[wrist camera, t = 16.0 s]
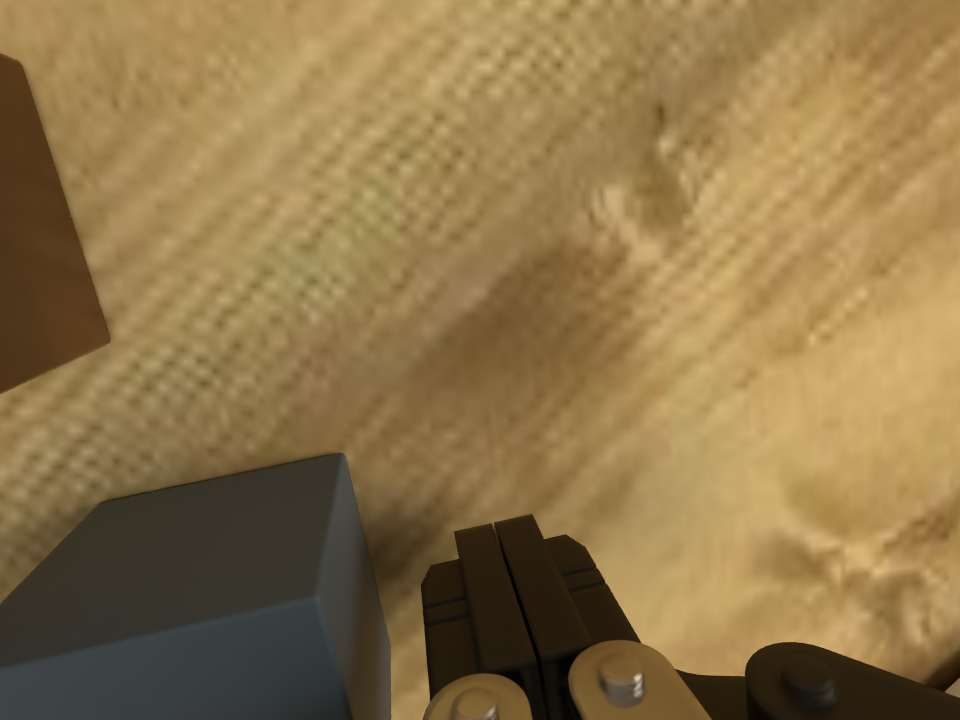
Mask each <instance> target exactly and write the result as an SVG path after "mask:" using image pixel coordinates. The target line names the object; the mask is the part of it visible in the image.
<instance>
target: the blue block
mask: <svg viewBox="0 0 960 720" xmlns="http://www.w3.org/2000/svg"><path fill="white" fill-rule="evenodd" d="M0 720H391V649H390V641H389V637H388V632H387V628H386V624H385V620H384V616H383V612H382V607H381V603H380V599H379V595H378V591H377V586H376V582H375V578H374V574H373V570H372V565H371V561H370V557H369V553H368V549H367V544H366V540H365V536H364V532H363V528H362V523H361V519H360V515H359V511H358V507H357V502H356V498H355V494H354V490H353V486H352V481H351V477H350V473H349V469H348V465H347V460H346V456H345V455H344V454H343V453H338V454H333V455H328V456H323V457H319V458H314V459H309V460H304V461H299V462H294V463H290V464H285V465H280V466H275V467H270V468H265V469H261V470H256V471H251V472H246V473H241V474H237V475H232V476H227V477H222V478H217V479H212V480H208V481H203V482H198V483H193V484H188V485H183V486H179V487H174V488H169V489H164V490H159V491H155V492H150V493H145V494H140V495H135V496H130V497H126V498H121V499H116V500H111V501H106V502H101V503H100V504H98V505H97V506H96V507H95V508H94V509H93V510H92V511H91V512H90V513H89V514H88V515H87V517H86V518H85V519H84V520H83V521H82V522H81V523H80V524H79V525H78V526H77V527H76V528H75V529H74V530H73V531H72V532H71V533H70V534H69V535H68V536H67V537H66V538H65V539H64V540H63V541H62V542H61V543H60V544H59V545H58V546H57V547H56V548H55V549H54V550H53V551H52V552H51V553H50V554H49V555H48V556H47V557H46V558H45V559H44V560H43V561H42V562H41V563H40V564H39V565H38V566H37V567H36V568H35V569H34V570H33V571H32V572H31V573H30V574H29V575H28V576H27V577H26V578H25V579H24V580H23V581H22V582H21V583H20V584H19V585H18V586H17V587H16V588H15V589H14V590H13V592H12V593H11V594H10V595H9V596H8V597H7V598H6V599H5V600H4V601H3V602H2V603H1V604H0Z"/></svg>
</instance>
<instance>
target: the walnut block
mask: <svg viewBox="0 0 960 720" xmlns="http://www.w3.org/2000/svg"><path fill="white" fill-rule="evenodd" d="M110 339H111V338H110V335H109V332H108V329H107V325H106V322H105V319H104V316H103V313H102V310H101V307H100V304H99V301H98V298H97V295H96V291H95V288H94V285H93V282H92V279H91V276H90V273H89V270H88V267H87V264H86V261H85V257H84V254H83V251H82V248H81V245H80V242H79V239H78V236H77V233H76V230H75V226H74V223H73V220H72V217H71V214H70V211H69V208H68V205H67V202H66V199H65V196H64V192H63V189H62V186H61V183H60V180H59V177H58V174H57V171H56V168H55V165H54V162H53V158H52V155H51V152H50V149H49V146H48V143H47V140H46V137H45V134H44V131H43V128H42V124H41V121H40V118H39V115H38V112H37V109H36V106H35V103H34V100H33V97H32V94H31V90H30V87H29V84H28V81H27V78H26V75H25V72H24V69H23V66H22V65H21V63H20V62H19V61H18V60H15V59H13V58H11V57H8V56H6V55H4V54H1V53H0V394H2V393H4V392H6V391H8V390H10V389H13V388H15V387H17V386H19V385H21V384H23V383H25V382H28V381H30V380H32V379H34V378H36V377H38V376H41V375H43V374H45V373H47V372H49V371H51V370H53V369H56V368H58V367H60V366H62V365H64V364H66V363H68V362H71V361H73V360H75V359H77V358H79V357H81V356H83V355H86V354H88V353H90V352H92V351H94V350H96V349H99V348H101V347H103V346H105V345H107V344H108V343H110Z"/></svg>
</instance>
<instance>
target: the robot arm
mask: <svg viewBox="0 0 960 720" xmlns="http://www.w3.org/2000/svg"><path fill="white" fill-rule="evenodd" d="M494 529H495V531H494ZM454 535H455V540H456V545H457V550H458V555H459V559H456V560H452V561H447V562H443V563H439V564H434V565H431V566H430V568H429V570H428V572H427V574H426V576H425V578H424V580H423V582H422V584H421V593H422V605H423V618H424V626H425V628H424V630H425V642H426V654H427V666H428V678H429V690H430V703H429V705H428V707H427V709H426V711H425V714H424V717H423V720H960V698H959V697H956V696H953V695H951V694H948V693H945V692H942V691H940V690H937V689H934V688H931V687H929V686H926V685H923V684H920V683H918V682H915V681H912V680H909V679H907V678H904V677H901V676H898V675H896V674H893V673H890V672H887V671H885V670H882V669H879V668H876V667H874V666H871V665H868V664H865V663H863V662H860V661H857V660H854V659H852V658H849V657H846V656H843V655H841V654H838V653H835V652H832V651H830V650H827V649H824V648H821V647H818V646H814V645H810V644H805V643H796V642H783V643H776V644H772V645H769V646H765V647H764V648H762V649H760V650H758V651H757V652H756V653H754V654H753V655H752V656H751V658H750V659H749V661H748V663H747V665H746V670H745V677H744V676H707V675H696V674H691V673H686V672H683V671H680V670H676V669H674V668H673V666H672V665H671V663H670V662H669V661H668V660H667V659H666V658H665V657H664V656H663V655H662V654H661V653H659V652H658V651H656V650H655V649H653V648H651V647H649V646H647V645H644V644H642V643H641V642H640V640H639V638H638V636H637V635H636V633H635V631H634V630H633V628H632V626H631V624H630V623H629V621H628V619H627V618H626V616H625V614H624V612H623V611H622V609H621V607H620V606H619V604H618V602H617V600H616V599H615V597H614V595H613V594H612V592H611V590H610V588H609V587H608V585H607V584H606V583H605V580H604V578H603V576H602V575H601V573H600V571H599V570H598V569H597V568H596V564H595V563H594V561H593V559H592V558H591V556H590V554H589V552H588V551H587V549H586V547H584V546H583V545H581V544H580V543H578V542H577V541H575V540H574V539H572V538H570V537H569V536H567V535H566V534H565V535H561V536H556V537H552V538H548V539H544V538H543V536H542V534H541V532H540V530H539V528H538V525H537V523H536V521H535V519H534V517H533V515H532V514H529V515H525V516H521V517H516V518H512V519H507V520H503V521H498V522H494V528H493V525H492V523H490V524H485V525H481V526H476V527H472V528H467V529H463V530H458V531H454Z"/></svg>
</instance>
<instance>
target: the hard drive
mask: <svg viewBox="0 0 960 720" xmlns="http://www.w3.org/2000/svg"><path fill="white" fill-rule="evenodd" d="M945 693H948V694H951V695H953V696H956V697H959V698H960V678H959V679H958V680H957V681H956V682H955V683H953V684H952V685H951V686H950V687H949V688H948V689H947V690H946V691H945Z"/></svg>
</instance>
